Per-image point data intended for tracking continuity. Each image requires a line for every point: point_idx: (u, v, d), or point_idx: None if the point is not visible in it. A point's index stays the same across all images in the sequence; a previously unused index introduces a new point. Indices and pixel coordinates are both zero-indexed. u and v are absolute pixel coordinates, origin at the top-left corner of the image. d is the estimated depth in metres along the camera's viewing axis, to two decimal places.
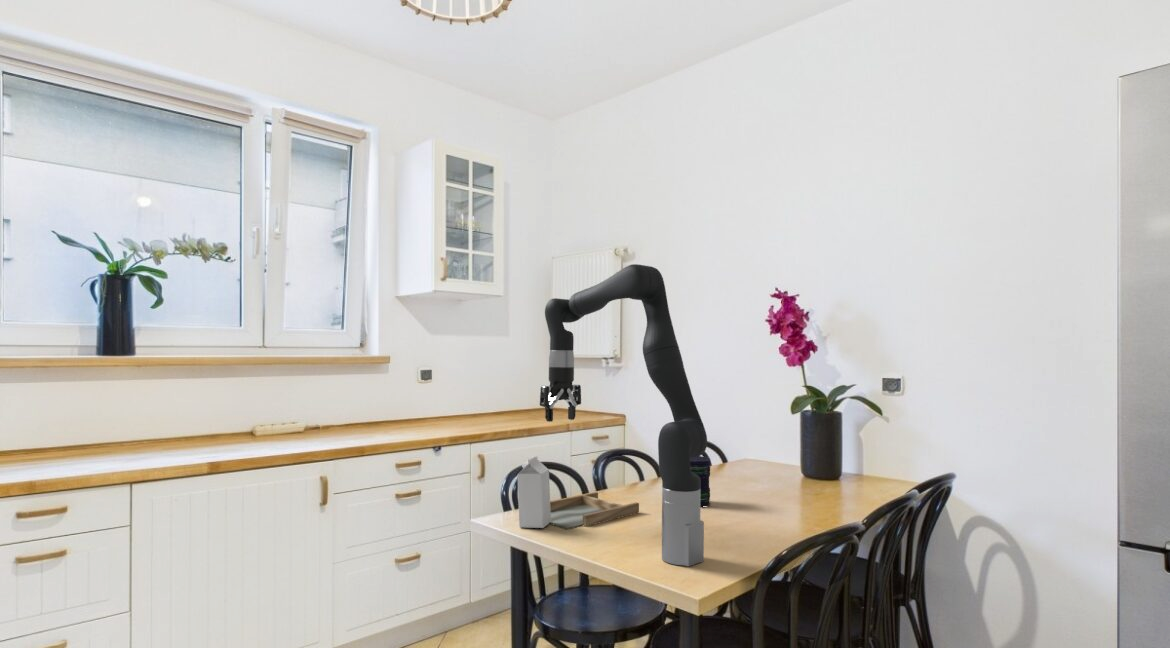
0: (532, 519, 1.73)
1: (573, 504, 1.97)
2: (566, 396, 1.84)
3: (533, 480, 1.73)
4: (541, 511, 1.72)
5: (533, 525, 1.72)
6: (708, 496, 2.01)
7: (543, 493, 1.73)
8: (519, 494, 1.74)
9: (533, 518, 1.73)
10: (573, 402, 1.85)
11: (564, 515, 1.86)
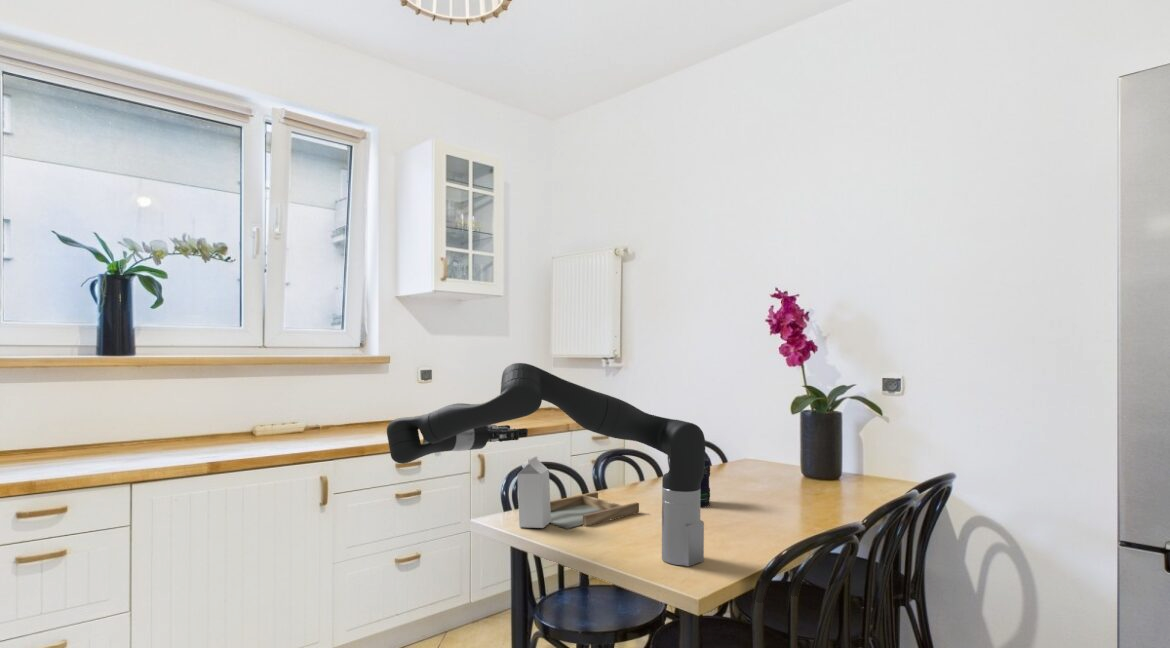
0: (532, 519, 1.73)
1: (573, 504, 1.97)
2: None
3: (533, 480, 1.73)
4: (541, 511, 1.72)
5: (532, 525, 1.72)
6: (708, 496, 2.01)
7: (543, 493, 1.73)
8: (519, 494, 1.74)
9: (533, 518, 1.73)
10: (493, 426, 1.66)
11: (564, 515, 1.86)
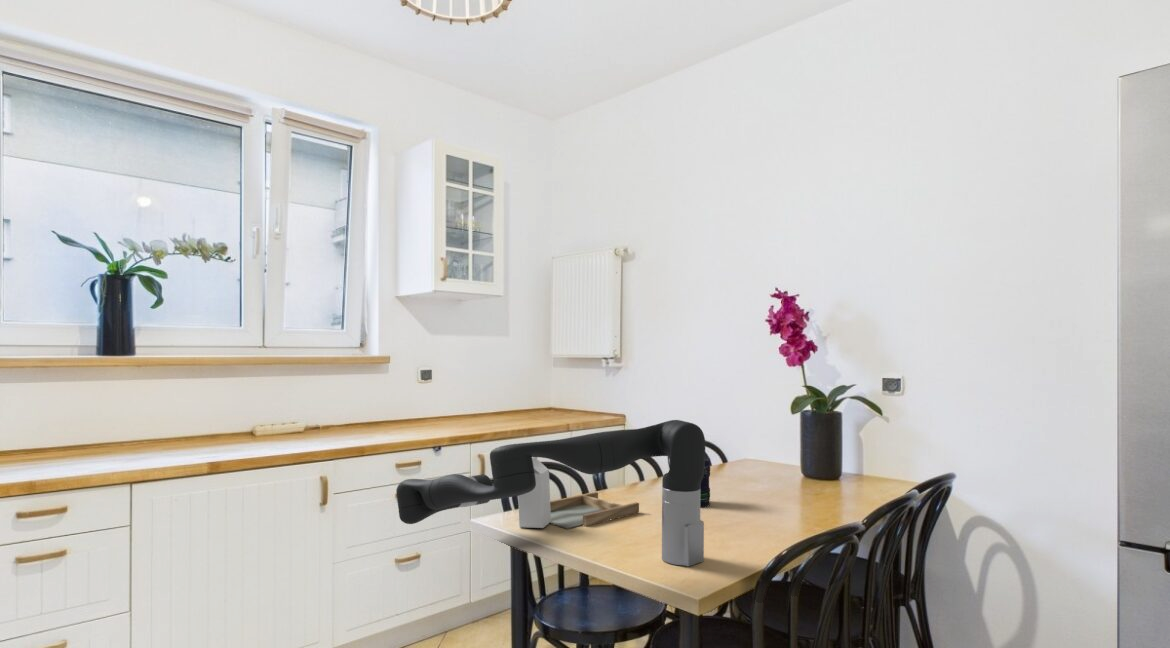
0: (532, 519, 1.73)
1: (573, 504, 1.97)
2: None
3: None
4: (541, 511, 1.72)
5: (532, 525, 1.72)
6: (708, 496, 2.01)
7: (543, 493, 1.73)
8: None
9: (533, 518, 1.73)
10: None
11: (564, 515, 1.86)
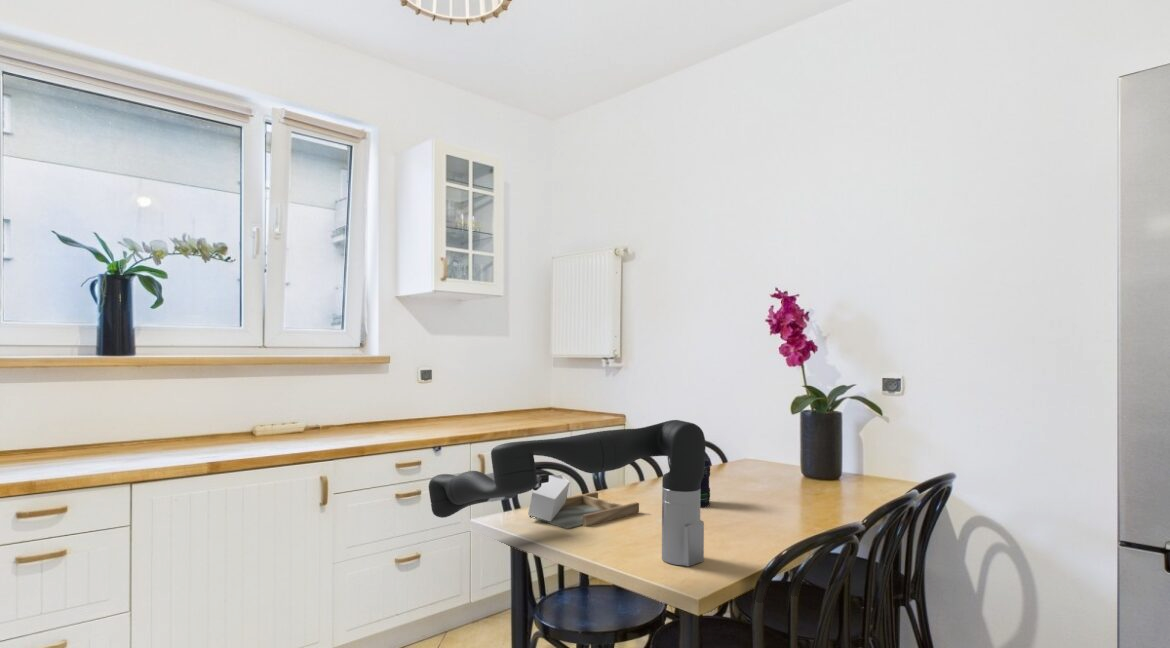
0: (547, 493, 1.80)
1: (573, 504, 1.97)
2: None
3: (561, 481, 1.91)
4: (558, 493, 1.82)
5: (546, 495, 1.79)
6: (708, 496, 2.01)
7: (564, 491, 1.87)
8: None
9: (549, 493, 1.81)
10: None
11: (564, 515, 1.86)
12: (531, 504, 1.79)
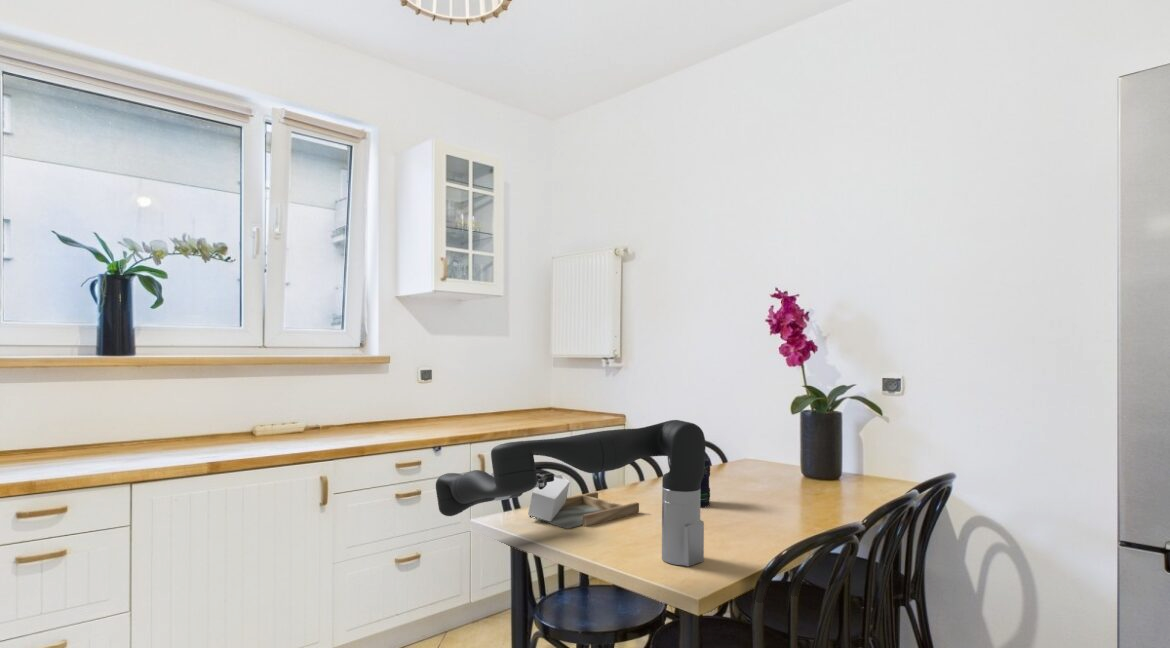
0: (547, 493, 1.80)
1: (573, 504, 1.97)
2: None
3: (561, 481, 1.91)
4: (558, 493, 1.82)
5: (546, 495, 1.79)
6: (708, 496, 2.01)
7: (564, 491, 1.87)
8: None
9: (549, 493, 1.81)
10: None
11: (564, 515, 1.86)
12: (531, 504, 1.79)
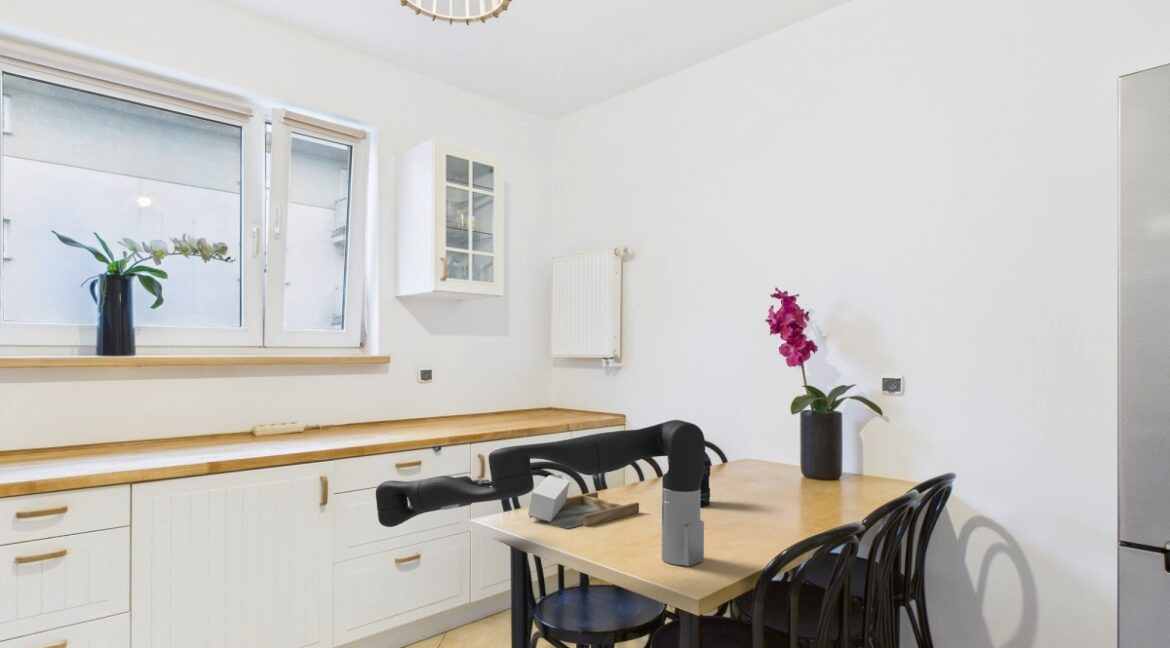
0: (547, 493, 1.80)
1: (573, 504, 1.97)
2: None
3: (561, 481, 1.91)
4: (558, 493, 1.82)
5: (546, 495, 1.79)
6: (708, 496, 2.01)
7: (564, 491, 1.87)
8: (544, 481, 1.88)
9: (549, 493, 1.81)
10: None
11: (564, 515, 1.86)
12: (531, 504, 1.79)
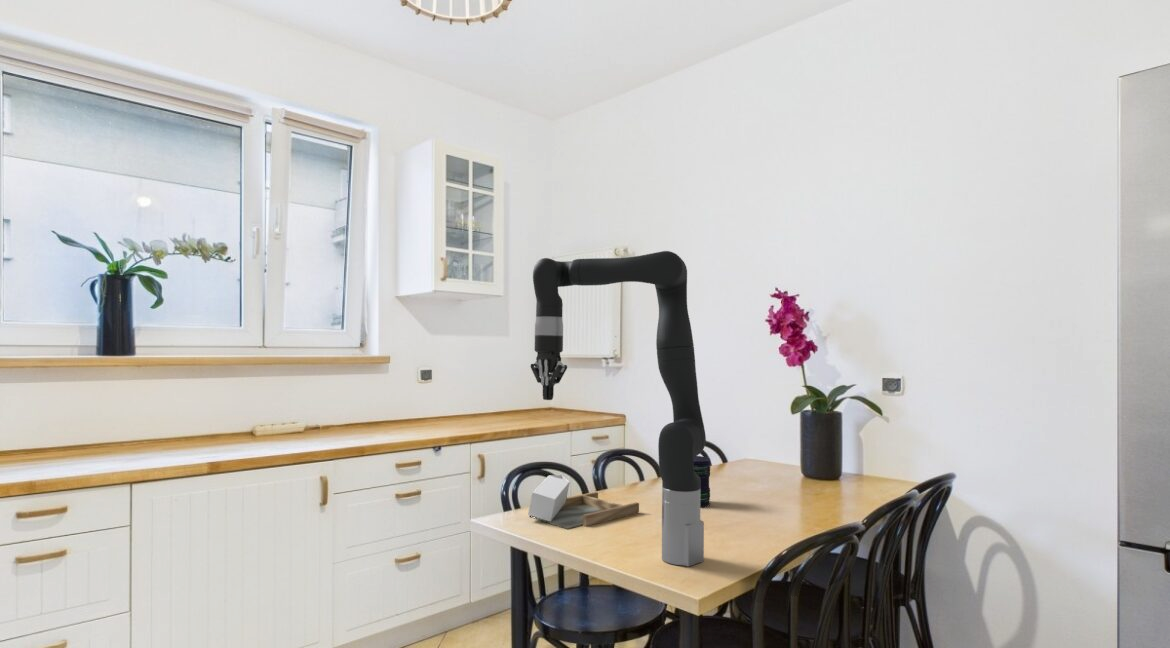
0: (547, 493, 1.80)
1: (573, 504, 1.97)
2: None
3: (561, 481, 1.91)
4: (558, 493, 1.82)
5: (546, 495, 1.79)
6: (708, 496, 2.01)
7: (564, 491, 1.87)
8: (544, 481, 1.88)
9: (549, 493, 1.81)
10: None
11: (564, 515, 1.86)
12: (531, 504, 1.79)
